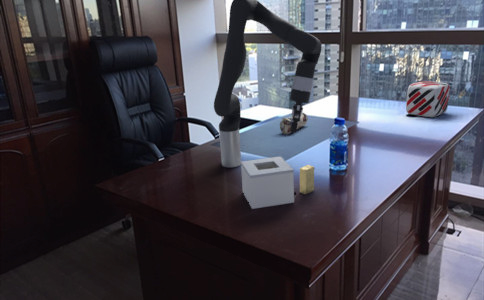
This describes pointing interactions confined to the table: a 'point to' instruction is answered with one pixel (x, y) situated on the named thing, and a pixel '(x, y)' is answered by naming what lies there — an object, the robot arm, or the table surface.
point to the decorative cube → (427, 98)
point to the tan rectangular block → (306, 179)
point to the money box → (267, 182)
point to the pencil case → (286, 123)
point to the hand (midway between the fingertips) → (292, 131)
